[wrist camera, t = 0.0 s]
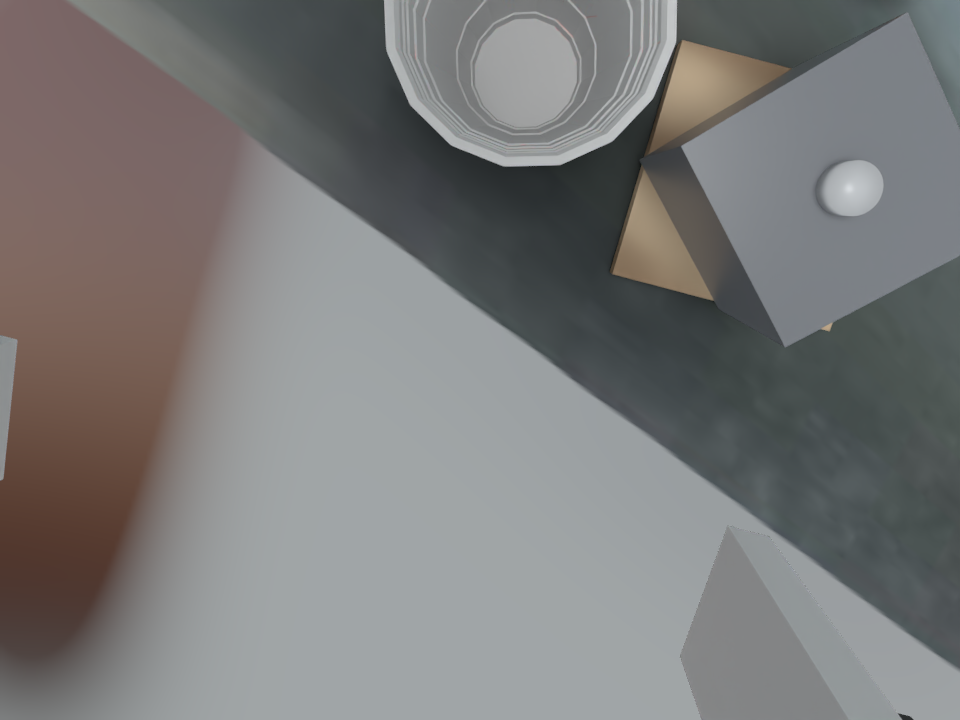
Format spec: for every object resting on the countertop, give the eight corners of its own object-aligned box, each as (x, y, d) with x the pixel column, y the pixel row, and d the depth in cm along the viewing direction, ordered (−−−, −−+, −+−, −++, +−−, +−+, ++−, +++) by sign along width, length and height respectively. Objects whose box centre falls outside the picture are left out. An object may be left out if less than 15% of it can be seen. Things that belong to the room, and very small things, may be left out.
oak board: (677, 44, 37) (682, 39, 35) (903, 104, 37) (916, 101, 35) (609, 271, 39) (612, 274, 38) (820, 327, 39) (829, 331, 38)
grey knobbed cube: (639, 159, 37) (686, 144, 26) (801, 63, 35) (923, 4, 25) (718, 309, 38) (794, 352, 28) (878, 222, 37) (1023, 232, 26)
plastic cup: (675, 34, 37) (746, -43, 25) (557, 216, 39) (572, 224, 27) (496, -88, 36) (483, -227, 24) (387, 105, 38) (327, 64, 26)
